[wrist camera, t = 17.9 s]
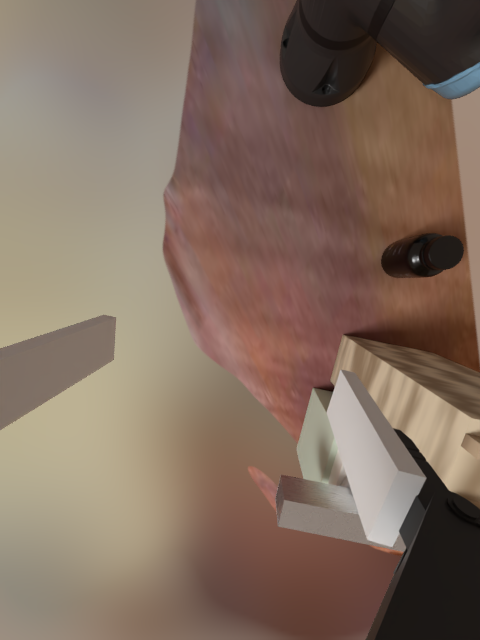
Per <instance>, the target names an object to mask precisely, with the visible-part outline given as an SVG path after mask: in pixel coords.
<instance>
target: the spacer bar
mask: <svg viewBox="0 0 480 640" xmlns="http://www.w3.org/2000/svg"><path fill="white" fill-rule="evenodd" d="M275 499H276V510H277V520H278V526H279V527H284V528H289V529H294V530H299V531H304V532H308V533H313V534H319V535H323V536H328V537H334V538H339V539H343V540H349V541H353V542H358V543H363V544H368V545H373V546H378V547H383V548H388V549H393V550H398V551H403V552H404V551H405V549H406V546H405V544H404V542H403V539H402V537H401V535H400V533H399V535H398V537H397V539H396V541H395V543H394V545H393V547H390V546H386V545H383V544H379V543H376V542H372V541H369V540H367V538H366V535H365V532H364V528H363V525H362V522H361V519H360V516H359V513H358V510H357V507H356V503H355V500H354V497H353V494H352V491H351V488H347V487H342V486H337V485H332V484H326V483H321V482H316V481H311V480H306V479H301V478H296V477H291V476H286V475H281V477H280V481H279V485H278V490H277V494H276V498H275Z"/></svg>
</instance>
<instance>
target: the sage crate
mask: <svg viewBox="0 0 480 640" xmlns="http://www.w3.org/2000/svg"><path fill="white" fill-rule="evenodd" d="M332 394H333V392H331V391H326V390H321V389H317V388H313V390H312V394H311V397H310V401H309V405H308V409H307V412H306V416H305V420H304V424H303V427H302V431H301V435H300V439H299V442H298V446H297V453H298V458H299V462H300V466H301V470H302V474H303V478H304V479H306V480H311V481H316V482H321V483H326V484H328V480H329V477H330V474H331V470H332V467H333V464H334V460H335V457H336V454H337V450H338V447H337V444H336V441H335V438H334V434H333V431H332V428H331V425H330V422H329V419H328V416H327V410H328V407H329V403H330V400H331V397H332Z"/></svg>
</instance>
